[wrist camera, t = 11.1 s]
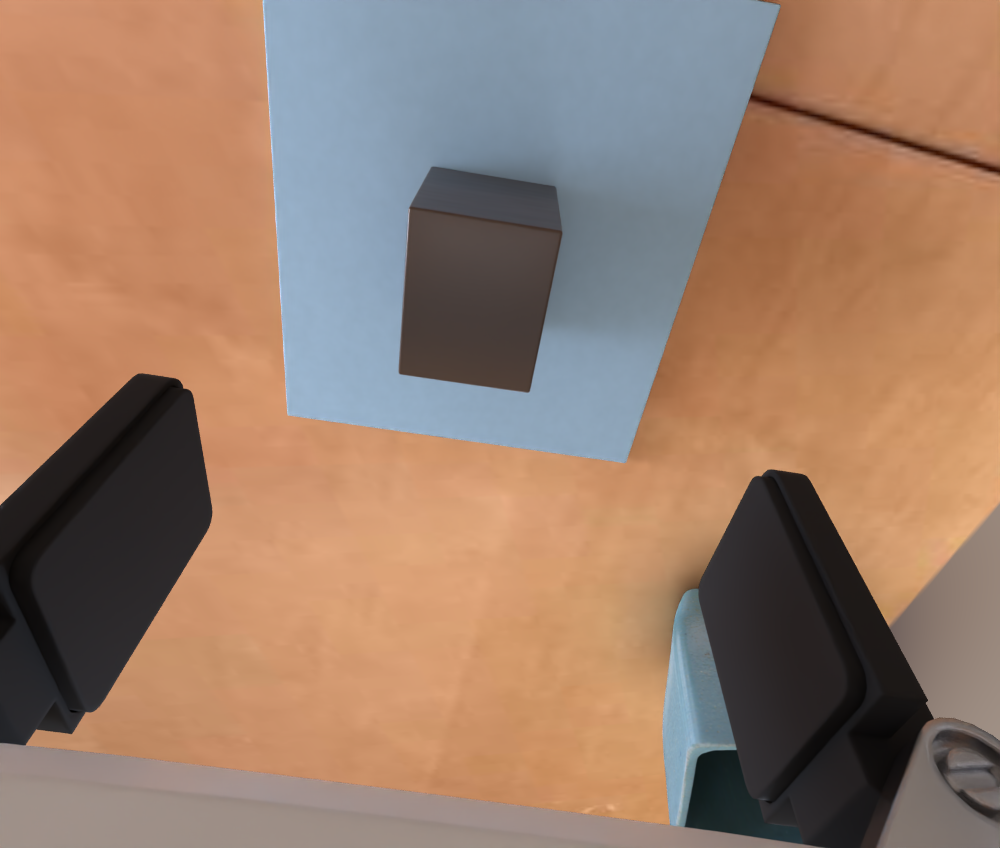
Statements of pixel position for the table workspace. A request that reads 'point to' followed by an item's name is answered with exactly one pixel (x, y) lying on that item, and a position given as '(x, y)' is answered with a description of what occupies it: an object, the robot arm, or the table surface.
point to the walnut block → (477, 278)
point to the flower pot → (705, 741)
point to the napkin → (506, 154)
